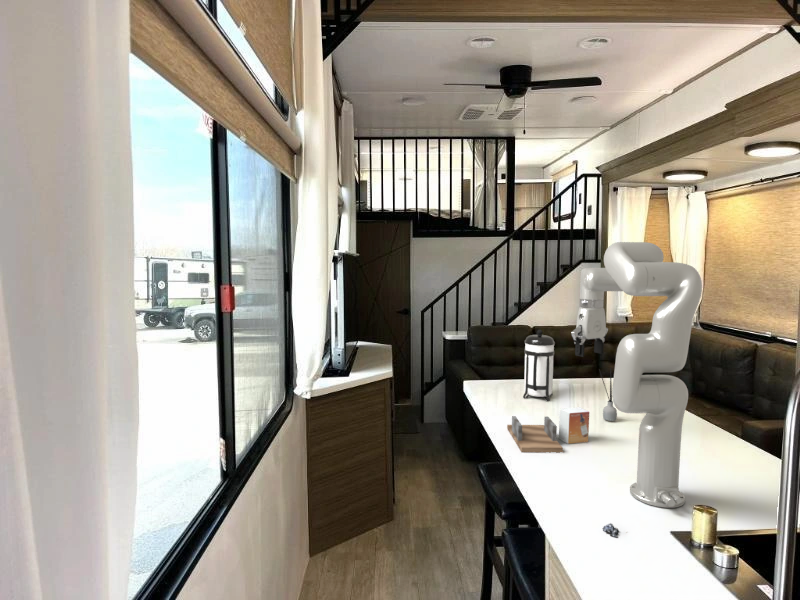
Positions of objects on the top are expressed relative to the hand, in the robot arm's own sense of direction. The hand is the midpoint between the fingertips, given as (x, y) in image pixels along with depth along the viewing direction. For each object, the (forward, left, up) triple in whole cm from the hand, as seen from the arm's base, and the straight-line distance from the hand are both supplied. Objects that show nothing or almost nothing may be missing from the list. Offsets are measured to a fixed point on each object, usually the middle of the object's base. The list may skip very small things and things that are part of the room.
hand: (589, 354), depth 171 cm
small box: (-4, +6, -29) cm, 30 cm away
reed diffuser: (+18, -14, -29) cm, 37 cm away
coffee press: (+48, +4, -29) cm, 56 cm away
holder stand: (-4, +19, -29) cm, 35 cm away
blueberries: (-61, +16, -29) cm, 69 cm away
